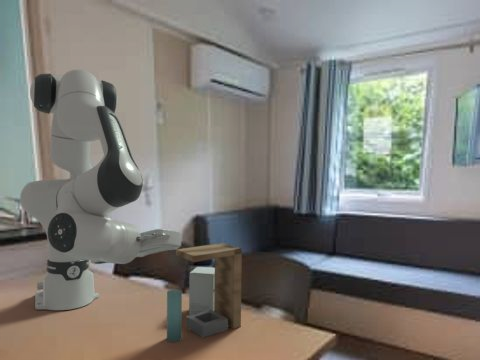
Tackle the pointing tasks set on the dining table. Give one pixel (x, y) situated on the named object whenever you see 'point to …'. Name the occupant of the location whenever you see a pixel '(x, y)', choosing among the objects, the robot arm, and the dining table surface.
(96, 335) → the dining table surface
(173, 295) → the peg
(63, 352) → the dining table surface
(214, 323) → the socket
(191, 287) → the supplement box
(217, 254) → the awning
